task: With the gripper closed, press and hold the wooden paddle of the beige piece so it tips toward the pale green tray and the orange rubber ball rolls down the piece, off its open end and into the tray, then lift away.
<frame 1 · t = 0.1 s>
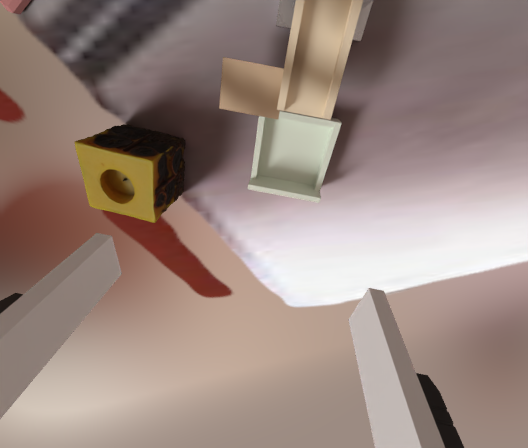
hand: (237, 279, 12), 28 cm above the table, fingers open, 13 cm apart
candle: (156, 160, 40), on the table
tray: (291, 150, 36), on the table
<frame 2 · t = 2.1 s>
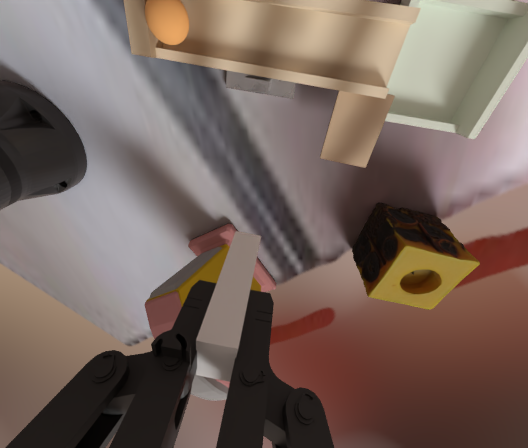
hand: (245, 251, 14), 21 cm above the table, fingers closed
pink yellow-faced device: (235, 261, 45), on the table
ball: (167, 19, 21), point 6 cm above the table, tilted 19°, touching beige piece
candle: (391, 233, 39), on the table
tray: (429, 68, 26), on the table
fulcrum: (266, 40, 25), on the table
beige piece: (262, 80, 23), point 5 cm above the table, hinge at -8.0°, touching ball
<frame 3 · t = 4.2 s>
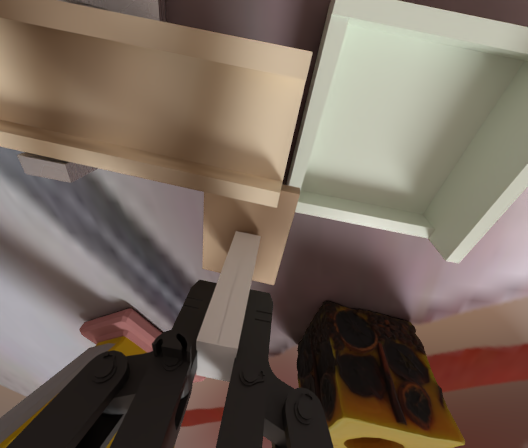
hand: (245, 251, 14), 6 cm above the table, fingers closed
pink yellow-faced device: (152, 344, 34), on the table
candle: (348, 332, 28), on the table
tray: (384, 133, 15), on the table
fulcrum: (108, 77, 15), on the table
beige piece: (67, 156, 13), point 5 cm above the table, hinge at -2.7°, touching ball, gripper
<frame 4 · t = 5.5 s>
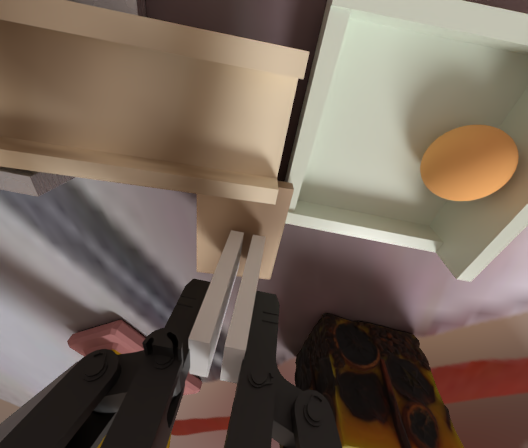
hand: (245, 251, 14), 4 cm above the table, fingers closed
pink yellow-faced device: (144, 356, 33), on the table
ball: (464, 164, 11), point 3 cm above the table, tilted 150°, touching tray
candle: (349, 344, 27), on the table
tray: (389, 138, 14), on the table
fulcrum: (84, 77, 13), on the table
beige piece: (36, 165, 11), point 5 cm above the table, hinge at 6.2°, touching gripper, tray
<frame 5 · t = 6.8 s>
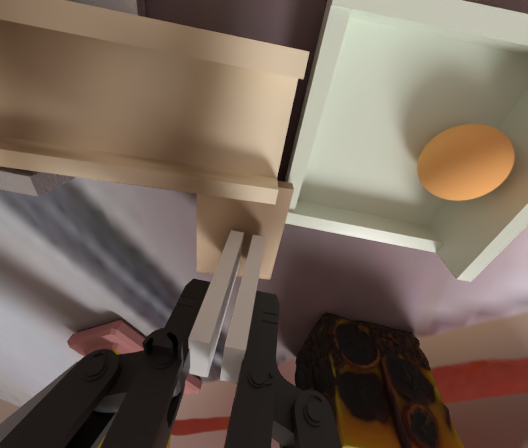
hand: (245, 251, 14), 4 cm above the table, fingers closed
pink yellow-faced device: (144, 356, 33), on the table
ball: (460, 163, 11), point 3 cm above the table, tilted 155°, touching tray
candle: (349, 344, 27), on the table
tray: (389, 138, 14), on the table
fulcrum: (84, 77, 13), on the table
beige piece: (36, 165, 11), point 5 cm above the table, hinge at 6.2°, touching gripper, tray
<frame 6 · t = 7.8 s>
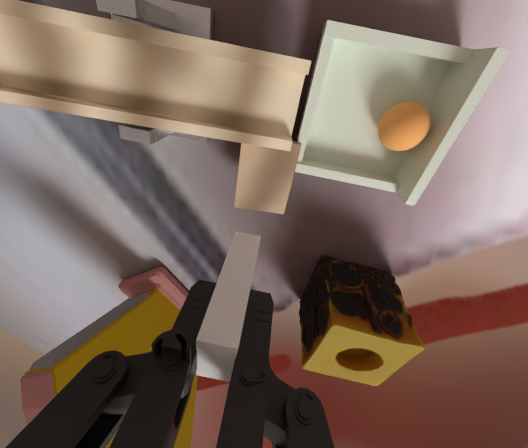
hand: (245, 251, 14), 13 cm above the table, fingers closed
pink yellow-faced device: (176, 303, 41), on the table
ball: (402, 127, 19), point 3 cm above the table, tilted 160°, touching tray
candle: (342, 286, 34), on the table
tray: (363, 115, 21), on the table
fulcrum: (167, 75, 21), on the table
beige piece: (148, 127, 19), point 5 cm above the table, hinge at 6.2°, touching tray
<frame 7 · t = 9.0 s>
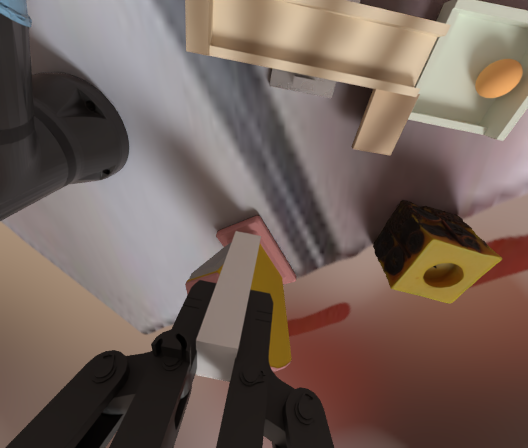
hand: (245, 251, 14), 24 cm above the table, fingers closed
pink yellow-faced device: (258, 253, 47), on the table
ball: (497, 79, 25), point 3 cm above the table, tilted 165°, touching tray
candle: (412, 230, 40), on the table
tray: (461, 74, 27), on the table
fulcrum: (311, 43, 27), on the table
beige piece: (309, 79, 25), point 5 cm above the table, hinge at 6.2°, touching tray
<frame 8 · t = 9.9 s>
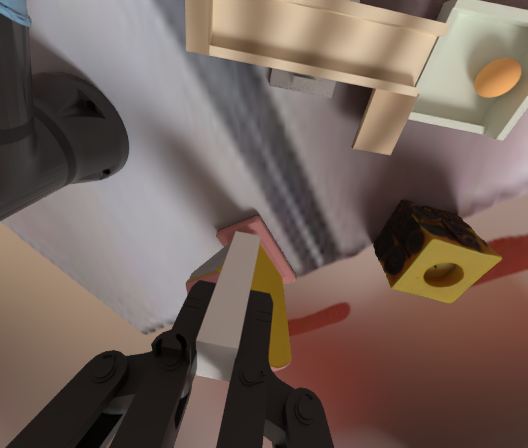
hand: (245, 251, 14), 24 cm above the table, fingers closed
pink yellow-faced device: (259, 253, 47), on the table
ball: (496, 78, 25), point 3 cm above the table, tilted 168°, touching tray
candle: (412, 230, 40), on the table
tray: (461, 73, 27), on the table
fulcrum: (311, 43, 27), on the table
beige piece: (309, 79, 25), point 5 cm above the table, hinge at 6.2°, touching tray
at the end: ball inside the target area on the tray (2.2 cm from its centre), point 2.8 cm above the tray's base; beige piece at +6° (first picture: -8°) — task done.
